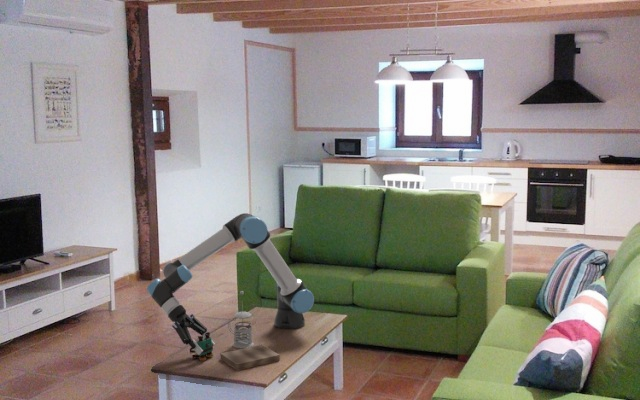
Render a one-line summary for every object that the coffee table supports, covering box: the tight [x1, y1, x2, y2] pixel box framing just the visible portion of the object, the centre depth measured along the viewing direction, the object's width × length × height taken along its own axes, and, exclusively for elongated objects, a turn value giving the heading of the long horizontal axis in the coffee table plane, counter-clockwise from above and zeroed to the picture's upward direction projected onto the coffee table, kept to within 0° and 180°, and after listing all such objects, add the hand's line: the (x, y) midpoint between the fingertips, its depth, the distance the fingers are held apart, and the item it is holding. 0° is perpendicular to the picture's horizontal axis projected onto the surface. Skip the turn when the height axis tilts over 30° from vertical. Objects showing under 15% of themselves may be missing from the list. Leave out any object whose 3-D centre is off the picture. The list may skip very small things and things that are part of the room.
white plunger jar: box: [227, 290, 255, 349], centre depth 311 cm, size 10×12×25 cm
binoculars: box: [189, 331, 214, 362], centre depth 296 cm, size 9×11×10 cm
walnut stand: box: [219, 344, 281, 371], centre depth 292 cm, size 20×16×2 cm
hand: (206, 349), depth 295 cm, fingers closed on binoculars, 9 cm apart
